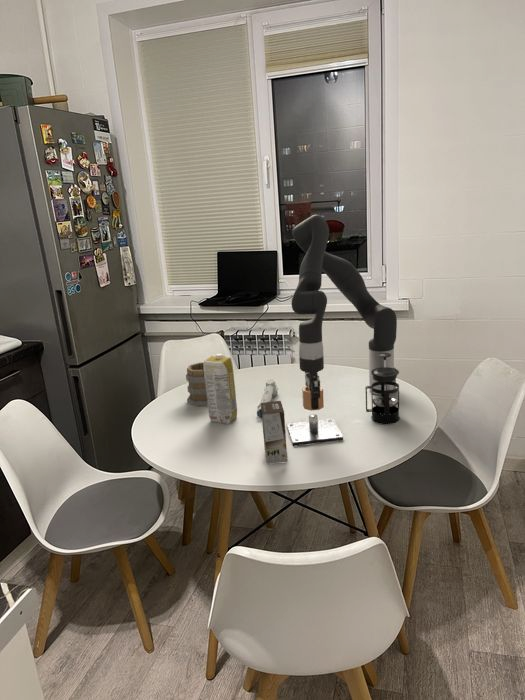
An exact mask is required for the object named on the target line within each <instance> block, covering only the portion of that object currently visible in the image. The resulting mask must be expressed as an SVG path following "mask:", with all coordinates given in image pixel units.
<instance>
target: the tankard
mask: <svg viewBox="0 0 525 700" xmlns="http://www.w3.org/2000/svg"><path fill="white" fill-rule="evenodd" d="M223 357H226V356H224V355H223ZM203 362H204V361H202V362H196V363H193V364H190V365H189V366H188V367H187V368H186V375H185V378H186V379H185V380H186V381H187V382H188V385H187V393H189V396H188V397H187V399H186V402H187V404H190V405H192V406H194V407H208V403H207V395H206V386H205V377H204V366H203Z"/></svg>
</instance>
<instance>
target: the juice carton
mask: <svg viewBox="0 0 525 700" xmlns="http://www.w3.org/2000/svg"><path fill="white" fill-rule="evenodd" d="M223 356H224V355H223V354H222V353H216V354H215V355H212V356H210V357H208V358H207V359H205V360H203V361H202V362H203V366H204V377H205V386H206V395H207V403H208V406H207V410H208V416H209V420H210V422H212V423H221V424H227V425H229V424H231V422H233V421H234V420H235V419H237V417H238V402H237V393H236V384H235V382H236V381H235V373H234V367H233V361H232V360H233V359H232V357H231V356H225V357H223Z"/></svg>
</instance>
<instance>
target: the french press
mask: <svg viewBox="0 0 525 700" xmlns="http://www.w3.org/2000/svg"><path fill="white" fill-rule="evenodd" d="M378 356H379V357H383V360H384V367H381V368H376V369H373V370H372V371H371V374H372V375H373V379H374V380H375V381H378V382H375V383H373V384H372V385H371V386H369V385H365V388H364V390H365V411H366V413H371V416H370V419H371V422H373V423H375V424H379V425H393V424H397V423H399V421H400V419H401V417H400V385H399V383H397V382H396V383H395V382H392V381H394V380H395V379H397V377H398V375H399V374H400V370H398V369H397V368H396V369H394V368H389V367H385V360H386V357H390V356H391V354H389V353H380V354H379V355H378ZM377 385H381V390H378V389H375V388H373V387H374V386H377ZM386 385H393V386H396V389H393V390H386ZM370 388H371V392H372V393H371V392H370V393H371V408H368V389H369V390H370ZM373 392H375V393H378V394H381V395H380V396H377V397H375V398H373V395H374V394H373ZM396 393H397V398H395V397H392V396H390V395H392V394H396Z"/></svg>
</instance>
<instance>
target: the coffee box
mask: <svg viewBox="0 0 525 700" xmlns="http://www.w3.org/2000/svg"><path fill="white" fill-rule="evenodd" d="M261 413H262V418H261V423H262V424H261V425H262V434H263V443H264V444H263V445H264V454H265V455H264V456H265V460H266V464H267V465H270V464H271V465H273V464H279V463H287V462H288V452H287V451H288V449H287V434H286V421H285V420H286V419H285V418H286V417H285V410H284V408H283V403H282V401H281V400H271V402H265V403H261Z"/></svg>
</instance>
